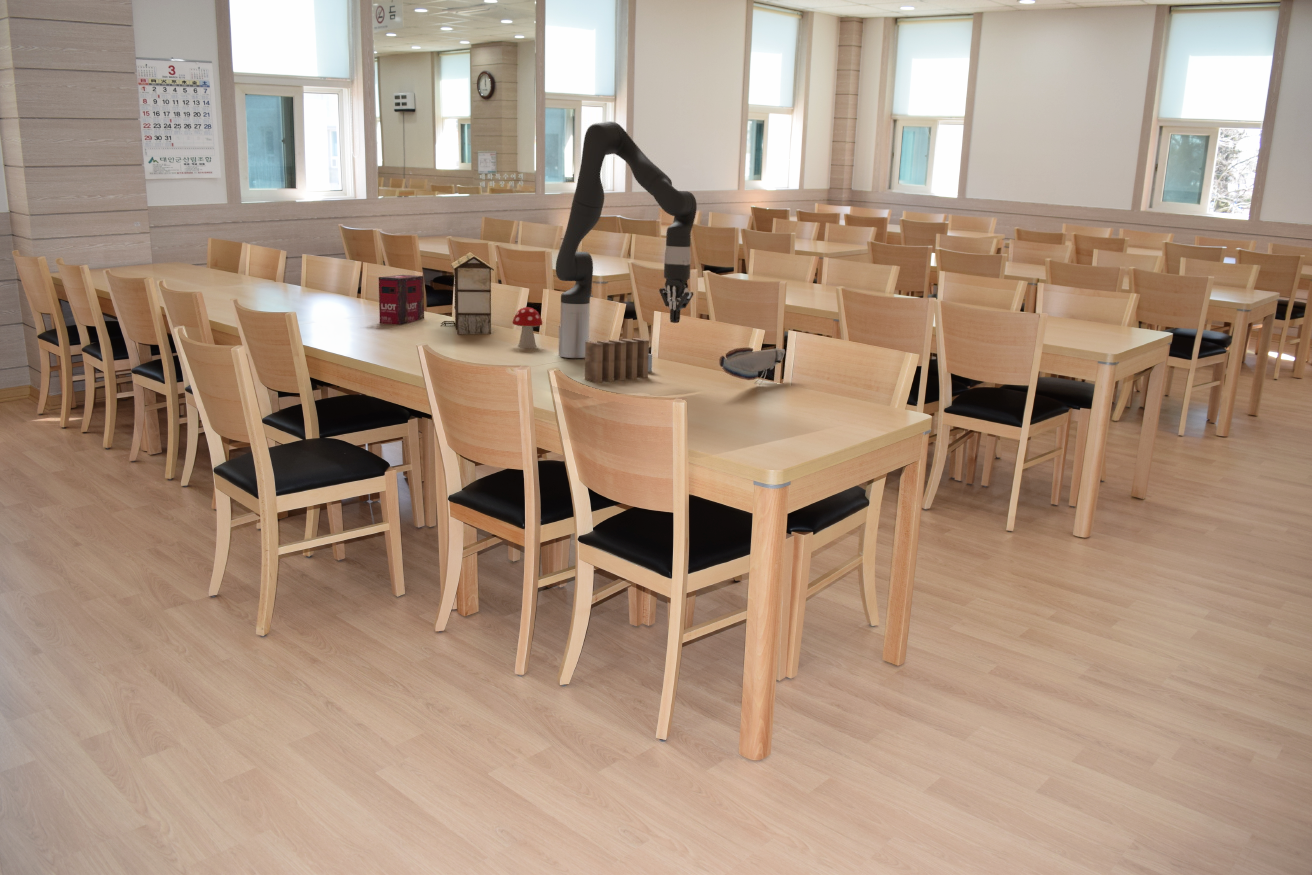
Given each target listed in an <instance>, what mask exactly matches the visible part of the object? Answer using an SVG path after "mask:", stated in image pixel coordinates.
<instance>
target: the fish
mask: <svg viewBox="0 0 1312 875" xmlns="http://www.w3.org/2000/svg"><path fill="white" fill-rule="evenodd" d="M785 354H786V350H785V349H784V348H778V347H777V348H772V349H771V348H770V349H762V350H755V351H754V348H752V347H738V348H734V349H732V350H729V351H728V352H727V351H726V353H725V356H724V355H721V356H720V357H719V359H718V360H719V361H718V364H719V366H720V368H721V369H722V370H723V372H724V373H725V374H727V375H729V376H731V377H734V378H738V379H740V380H745V381H754V380H756V379H757V378H758V377H759V372H762V371H763V372H762V374H761V376H760V377H759V378H758V379H757V380H756V381H755V382H754V384H757V382H758V381H759V380H761V378H762V377H763V376H764V377H763V379H762V380H761V381H760V383H758V386H759V385H761V384H762V383H763V382H764V381H765V378H766V375H767V372H768V371H767V370H768V369H769V371H771V370H774V368H775V366H776V365H778V364H781V362H782V360H783V358H784V356H785ZM764 373H765V374H764Z"/></svg>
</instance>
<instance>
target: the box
mask: <svg viewBox="0 0 1312 875" xmlns="http://www.w3.org/2000/svg"><path fill="white" fill-rule="evenodd" d="M424 280H425V279H424V276H423V275H412V274H411V275H410V274H397V275H388V276H386V275H385V276H378V303H379V305H378V306H379V307H378V309H379V312H378V313H379V324H384V325H385V324H386V325H396V326H398V325H399V326H402V325H406V324H409V323H413V322H416V321H419V320H424V319H425V289H424V288H425V287H424V286H425V284H424V283H425V282H424Z"/></svg>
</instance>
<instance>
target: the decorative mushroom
mask: <svg viewBox="0 0 1312 875" xmlns="http://www.w3.org/2000/svg"><path fill="white" fill-rule="evenodd" d="M512 324H513V325H514V326H517V327H521V332H520V337H519V341H518V345H517V348H520V349H534V348H535V347H536V348H537V347H538V346H537V344H536V339H535V334H534V327H541V326H542V325H543V321H542V318H541V315H540V314H539V311H537V309H534V308H533V307H529V306H527V307H522V308H520V309H518V310H517V311H516V312H515V315H514V317H513V320H512Z"/></svg>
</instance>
